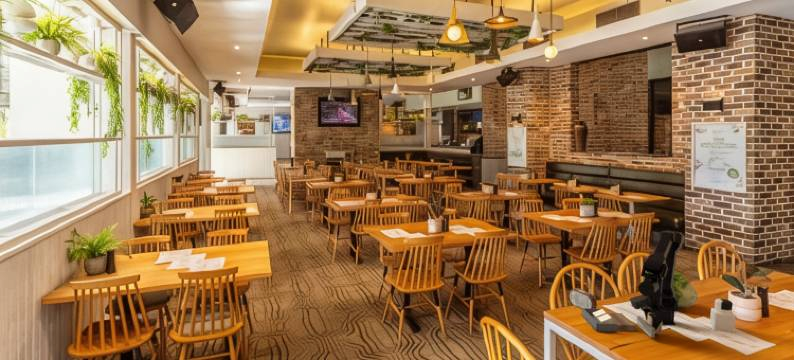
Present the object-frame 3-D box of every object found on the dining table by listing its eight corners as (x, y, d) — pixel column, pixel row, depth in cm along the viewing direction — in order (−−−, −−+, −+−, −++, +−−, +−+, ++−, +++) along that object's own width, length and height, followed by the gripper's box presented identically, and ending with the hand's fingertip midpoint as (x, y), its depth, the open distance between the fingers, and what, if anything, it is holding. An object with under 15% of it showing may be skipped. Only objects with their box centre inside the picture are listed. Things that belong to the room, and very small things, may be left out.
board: (621, 318, 213) (621, 313, 212) (635, 331, 199) (635, 325, 198) (602, 317, 213) (602, 312, 213) (615, 330, 199) (615, 324, 199)
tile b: (609, 319, 205) (607, 313, 205) (613, 323, 201) (611, 317, 200) (599, 323, 205) (597, 317, 205) (603, 327, 201) (601, 321, 201)
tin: (596, 313, 219) (597, 295, 218) (591, 314, 218) (592, 295, 217) (572, 302, 233) (573, 285, 232) (567, 303, 231) (568, 286, 231)
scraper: (651, 325, 202) (652, 309, 201) (666, 338, 189) (668, 320, 188) (636, 324, 202) (637, 308, 201) (651, 337, 189) (652, 319, 188)
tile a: (604, 314, 211) (602, 308, 211) (608, 317, 207) (606, 312, 206) (594, 318, 211) (592, 312, 211) (598, 321, 207) (596, 316, 207)
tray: (600, 316, 215) (600, 308, 215) (616, 332, 197) (616, 323, 197) (581, 315, 215) (582, 308, 215) (596, 331, 197) (596, 323, 197)
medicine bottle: (729, 326, 205) (731, 298, 204) (734, 332, 198) (736, 303, 197) (709, 324, 207) (711, 296, 206) (714, 330, 201) (716, 301, 200)
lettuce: (682, 318, 214) (695, 280, 213) (630, 296, 232) (642, 260, 230) (697, 317, 226) (709, 280, 225) (646, 296, 244) (658, 262, 242)
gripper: (623, 282, 204) (621, 319, 205) (643, 297, 185) (641, 337, 186) (650, 283, 203) (648, 319, 204) (673, 298, 185) (671, 337, 186)
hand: (651, 328), depth 195 cm, fingers closed on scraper, 4 cm apart
